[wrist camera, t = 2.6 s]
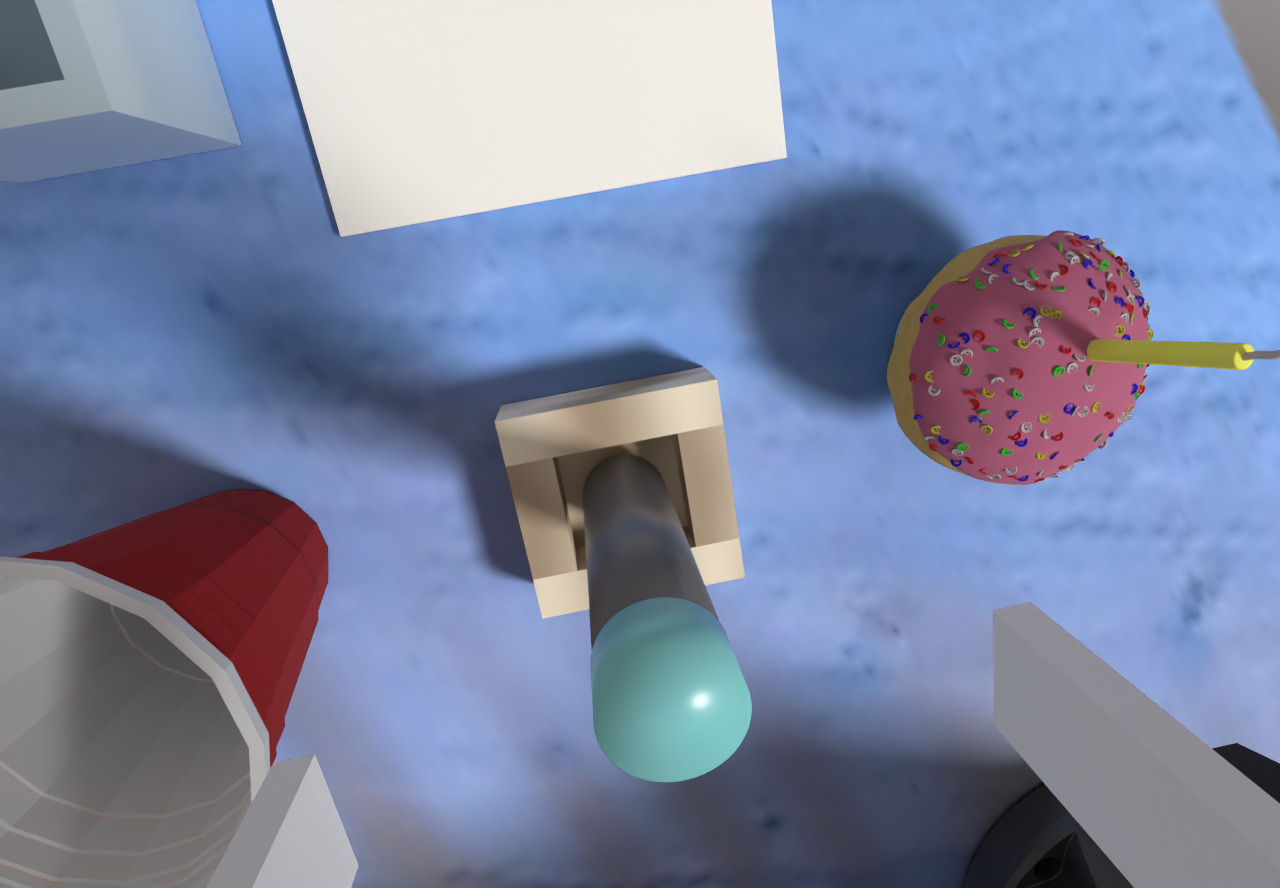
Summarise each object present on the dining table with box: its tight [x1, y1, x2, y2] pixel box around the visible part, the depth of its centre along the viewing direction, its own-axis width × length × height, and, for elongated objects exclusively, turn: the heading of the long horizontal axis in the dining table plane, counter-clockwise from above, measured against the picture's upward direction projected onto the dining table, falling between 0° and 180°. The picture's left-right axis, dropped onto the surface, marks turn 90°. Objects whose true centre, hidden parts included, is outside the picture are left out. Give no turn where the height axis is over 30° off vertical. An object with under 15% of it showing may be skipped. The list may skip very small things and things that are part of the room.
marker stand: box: [495, 367, 745, 619], centre depth 27 cm, size 8×8×2 cm
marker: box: [583, 454, 752, 782], centre depth 21 cm, size 3×3×14 cm
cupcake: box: [887, 231, 1280, 485], centre depth 22 cm, size 9×8×12 cm
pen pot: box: [0, 0, 242, 183], centre depth 19 cm, size 7×7×7 cm
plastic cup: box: [0, 489, 328, 888], centre depth 22 cm, size 11×11×12 cm
